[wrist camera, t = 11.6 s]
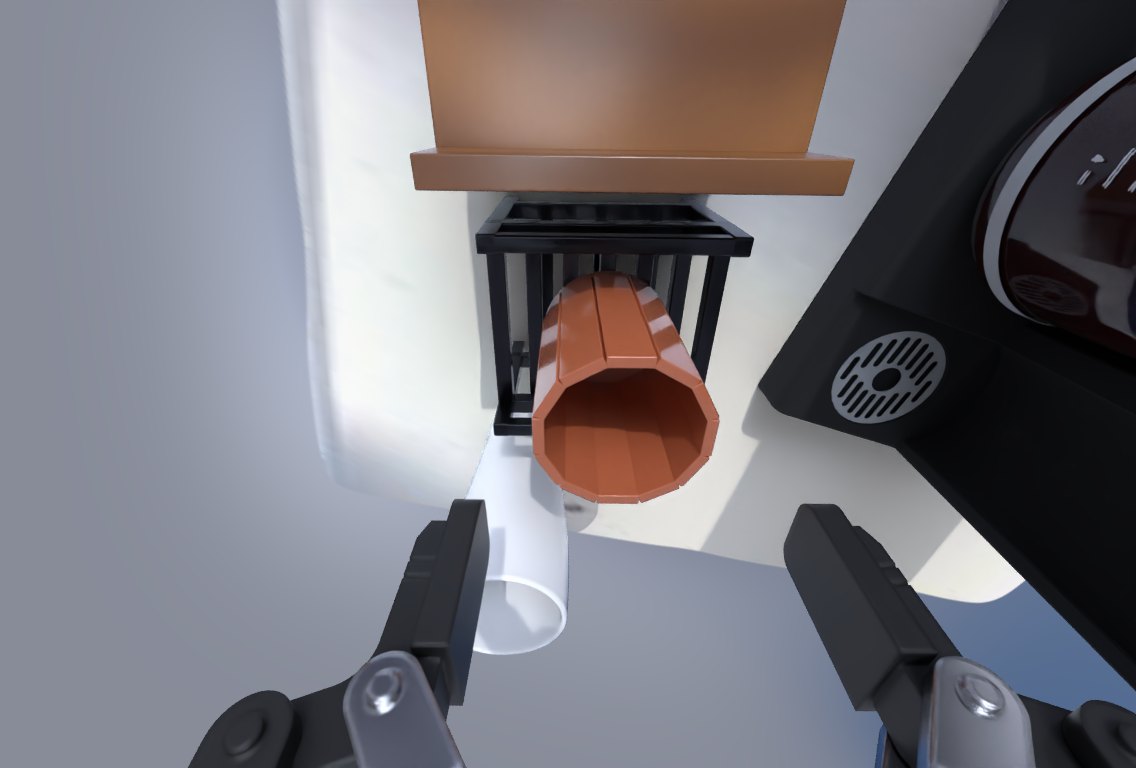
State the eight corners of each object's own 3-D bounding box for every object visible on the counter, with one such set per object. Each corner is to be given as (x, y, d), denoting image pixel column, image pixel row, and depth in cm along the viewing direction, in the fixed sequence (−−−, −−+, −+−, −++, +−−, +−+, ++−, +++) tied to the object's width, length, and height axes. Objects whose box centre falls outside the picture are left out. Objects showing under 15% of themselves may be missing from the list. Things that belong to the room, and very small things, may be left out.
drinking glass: (471, 400, 33) (410, 582, 20) (561, 390, 32) (558, 570, 19) (491, 468, 36) (449, 661, 23) (573, 460, 36) (576, 652, 23)
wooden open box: (464, -101, 19) (322, -401, 8) (761, -96, 19) (1026, -384, 8) (484, 157, 24) (414, 190, 13) (718, 160, 24) (844, 196, 13)
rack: (504, 196, 25) (474, 234, 17) (694, 198, 25) (755, 237, 17) (513, 351, 31) (493, 436, 22) (671, 352, 31) (709, 438, 22)
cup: (542, 269, 20) (529, 356, 13) (674, 270, 20) (734, 357, 13) (544, 382, 23) (534, 503, 16) (658, 383, 23) (700, 504, 16)
